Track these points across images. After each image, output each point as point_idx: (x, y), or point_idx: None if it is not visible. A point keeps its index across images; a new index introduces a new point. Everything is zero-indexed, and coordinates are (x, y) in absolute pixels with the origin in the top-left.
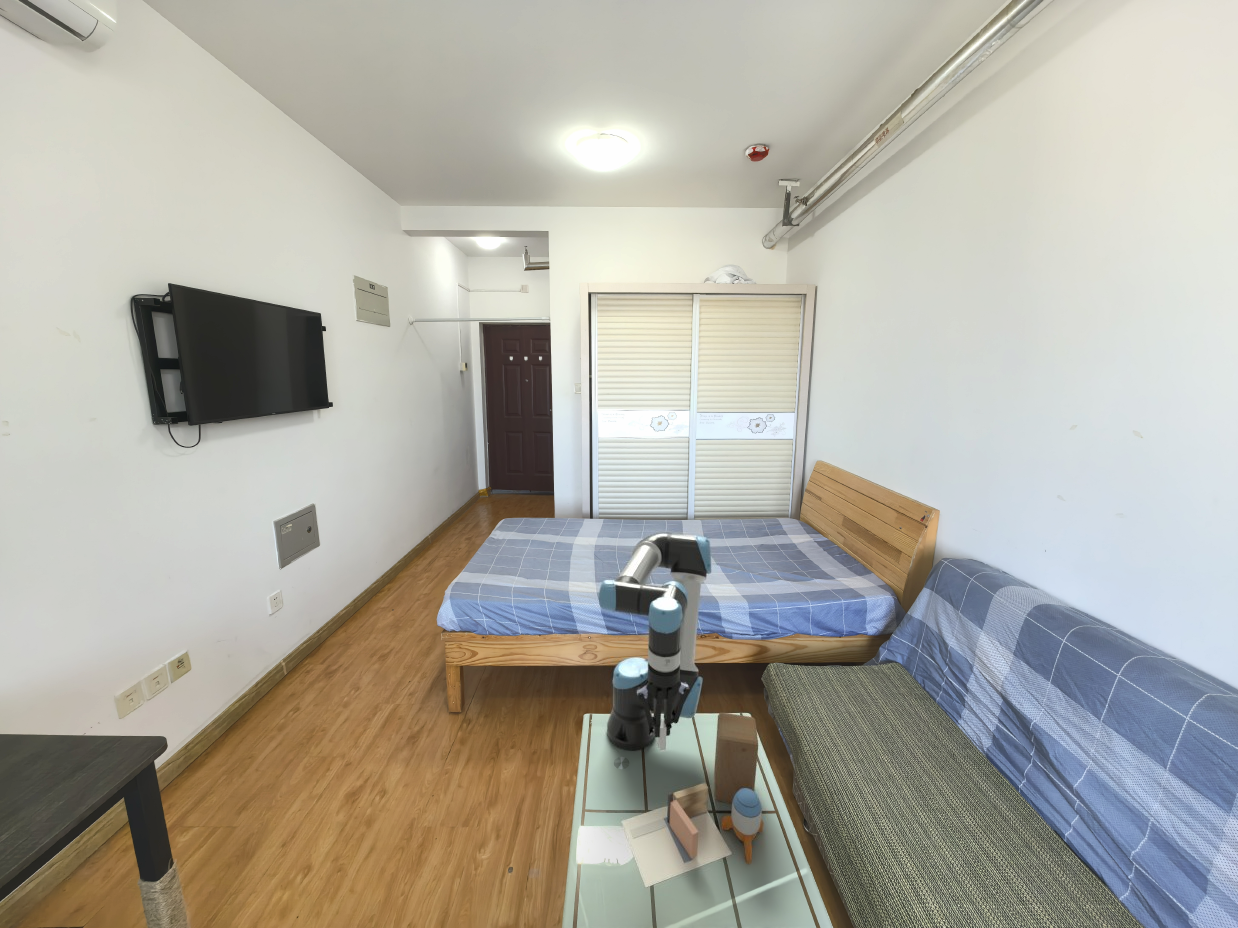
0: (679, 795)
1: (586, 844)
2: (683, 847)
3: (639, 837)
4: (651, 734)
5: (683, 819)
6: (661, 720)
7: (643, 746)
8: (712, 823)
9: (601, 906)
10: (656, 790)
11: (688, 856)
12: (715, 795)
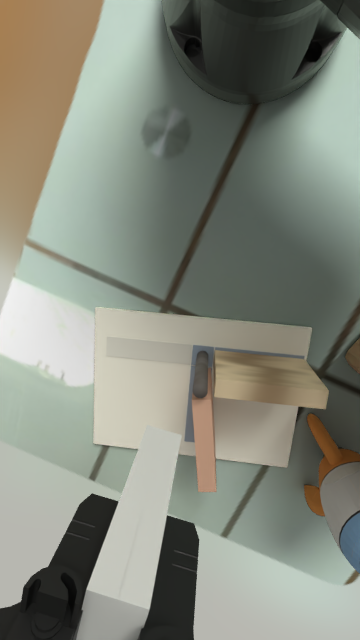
0: (228, 393)
1: (10, 319)
2: None
3: (120, 359)
4: (306, 71)
5: (198, 452)
6: (119, 610)
7: (258, 101)
8: None
9: (12, 429)
10: (218, 264)
11: None
12: (349, 361)
